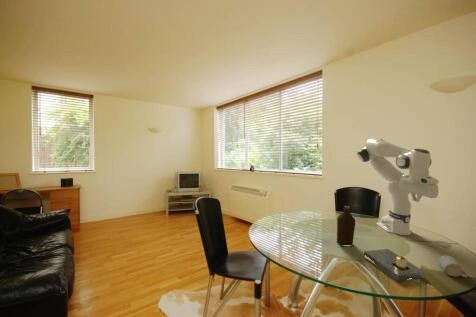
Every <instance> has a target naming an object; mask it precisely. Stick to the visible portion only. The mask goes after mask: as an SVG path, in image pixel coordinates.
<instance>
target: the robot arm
mask: <svg viewBox="0 0 476 317" xmlns="http://www.w3.org/2000/svg"><path fill="white" fill-rule="evenodd" d="M357 158H358V159H359V160H360V161H361V162H363V163H367V162H369V164H370V165H371V166H372V168H373V169H374V170H375V171H376V172H377V173H378V174H379V175H380V176H381V177H382V178H383V180H385V181H388V182H389V183H388V184H387V191H388V192H389V194H390V195H391V210H388V213H389V214H386V215H384V216H382V217H381V218H380V221H377V222H376V226H379V227H380V228H381V229H383V230H385V231H386V232H388V233H390V234H396V235H401V236H410V235H411V234H412V232H411V226H410V225H411V224H410V222H411V219H412V218H411V215H412V214H411V210H412V203H411V202H410V198H409V194H410V195H411V199H412V201H413V202H417V203H419V202H420V201H421V200H420V199H421V198H422V197H424V198H425V197H427V198H429V199H436V198H438V196H439V185H438V184H439V180H438V179H437V178H435V177H434V176H431V175H430V170H429V169H430V167H431V165H432V162H433V161H432V158H431V152H430V151H429V150H427V149H422V148H414V149H413V148H412V150H409V149H406V148H403V147H400V146H397V145H396V144H393V143H390V142H388V141H386V140H384V139H383V138H376V137H371V138H369V139H367V141H366V143H365V146H364V147H362V148H360V149H359V150H358V151H357ZM387 158H395V164H396V166H397V167H398V168H397V167H396V166H394V165H393V164H392V163H391V162H390V161H389V160H388V159H387ZM399 169H400V170H401V169H402V170H409V171H408V175H407V174H405V173H403V172H402V171H400V170H399Z"/></svg>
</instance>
